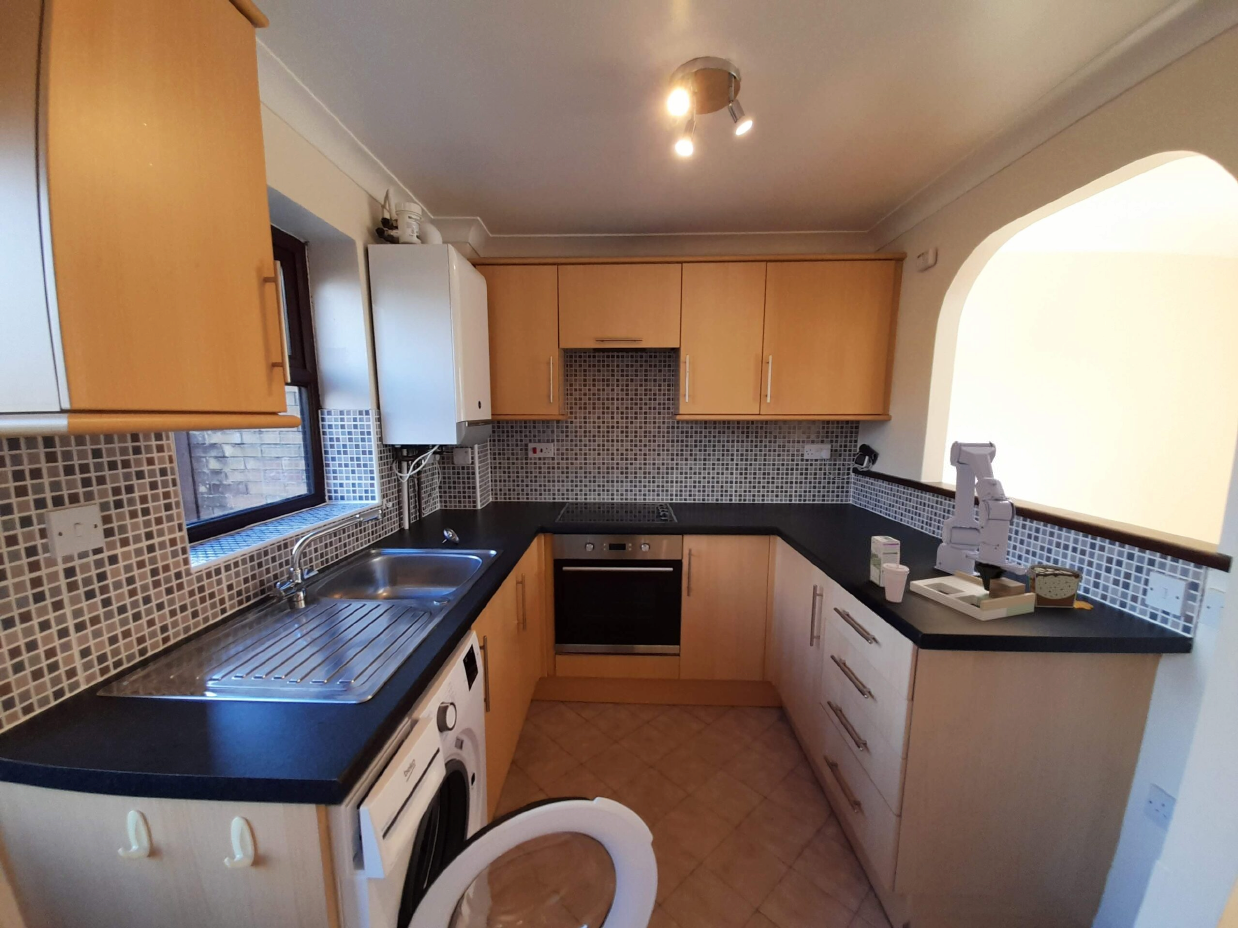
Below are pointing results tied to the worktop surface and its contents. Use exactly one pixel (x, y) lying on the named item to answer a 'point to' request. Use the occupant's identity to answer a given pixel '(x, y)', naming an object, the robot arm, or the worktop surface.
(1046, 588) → the food container
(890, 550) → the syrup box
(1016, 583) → the walnut block
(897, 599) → the smoothie
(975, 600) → the trap deck
